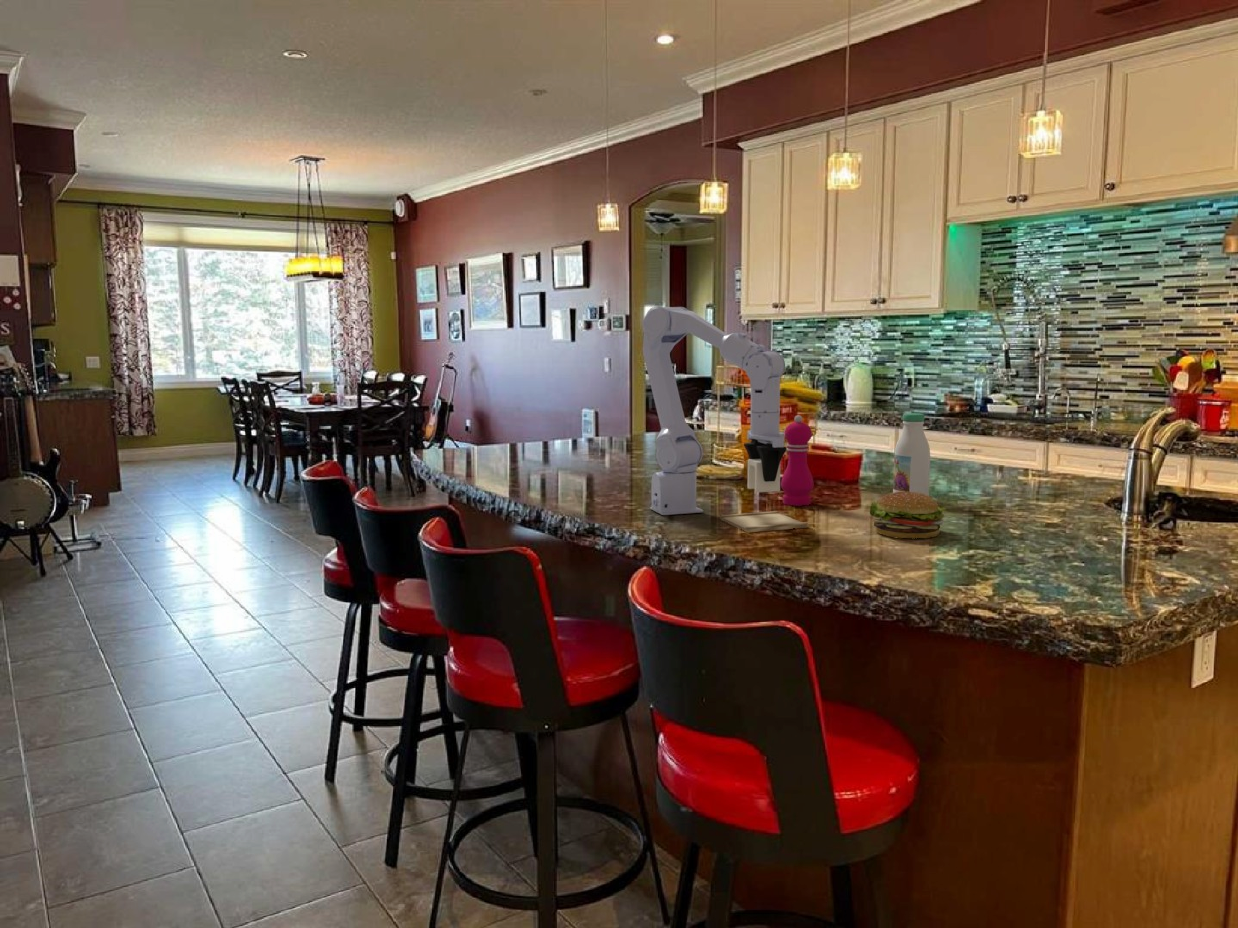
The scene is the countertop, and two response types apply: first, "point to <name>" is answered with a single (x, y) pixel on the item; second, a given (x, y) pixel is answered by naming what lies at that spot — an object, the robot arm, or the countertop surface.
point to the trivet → (762, 521)
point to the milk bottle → (912, 457)
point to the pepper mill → (797, 465)
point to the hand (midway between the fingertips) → (764, 479)
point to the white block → (761, 478)
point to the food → (907, 515)
